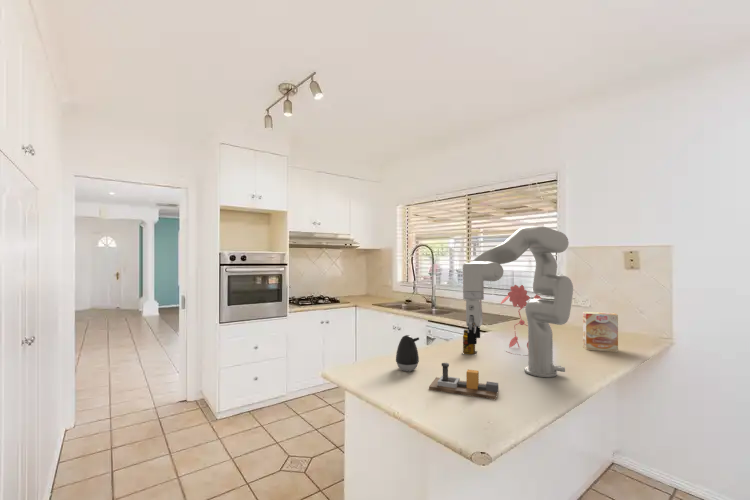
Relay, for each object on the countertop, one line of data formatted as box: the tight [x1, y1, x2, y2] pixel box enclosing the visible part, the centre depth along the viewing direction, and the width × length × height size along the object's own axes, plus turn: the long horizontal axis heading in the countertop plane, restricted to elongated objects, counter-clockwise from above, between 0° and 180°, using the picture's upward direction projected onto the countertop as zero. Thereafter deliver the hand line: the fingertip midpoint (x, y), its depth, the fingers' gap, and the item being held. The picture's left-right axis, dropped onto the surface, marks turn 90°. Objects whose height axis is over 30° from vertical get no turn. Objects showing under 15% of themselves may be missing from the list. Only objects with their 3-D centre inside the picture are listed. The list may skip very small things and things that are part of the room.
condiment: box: [462, 328, 478, 356], centre depth 186 cm, size 7×8×12 cm
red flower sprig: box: [500, 284, 542, 357], centre depth 190 cm, size 15×26×35 cm, turn 32°
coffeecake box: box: [582, 311, 619, 353], centre depth 192 cm, size 15×7×20 cm, turn 73°
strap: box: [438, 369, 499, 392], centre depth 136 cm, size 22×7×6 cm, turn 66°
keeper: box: [428, 362, 498, 401], centre depth 136 cm, size 24×11×9 cm, turn 66°
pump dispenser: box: [395, 334, 420, 372], centre depth 160 cm, size 10×10×15 cm
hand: (474, 340), depth 136 cm, fingers open, 9 cm apart
